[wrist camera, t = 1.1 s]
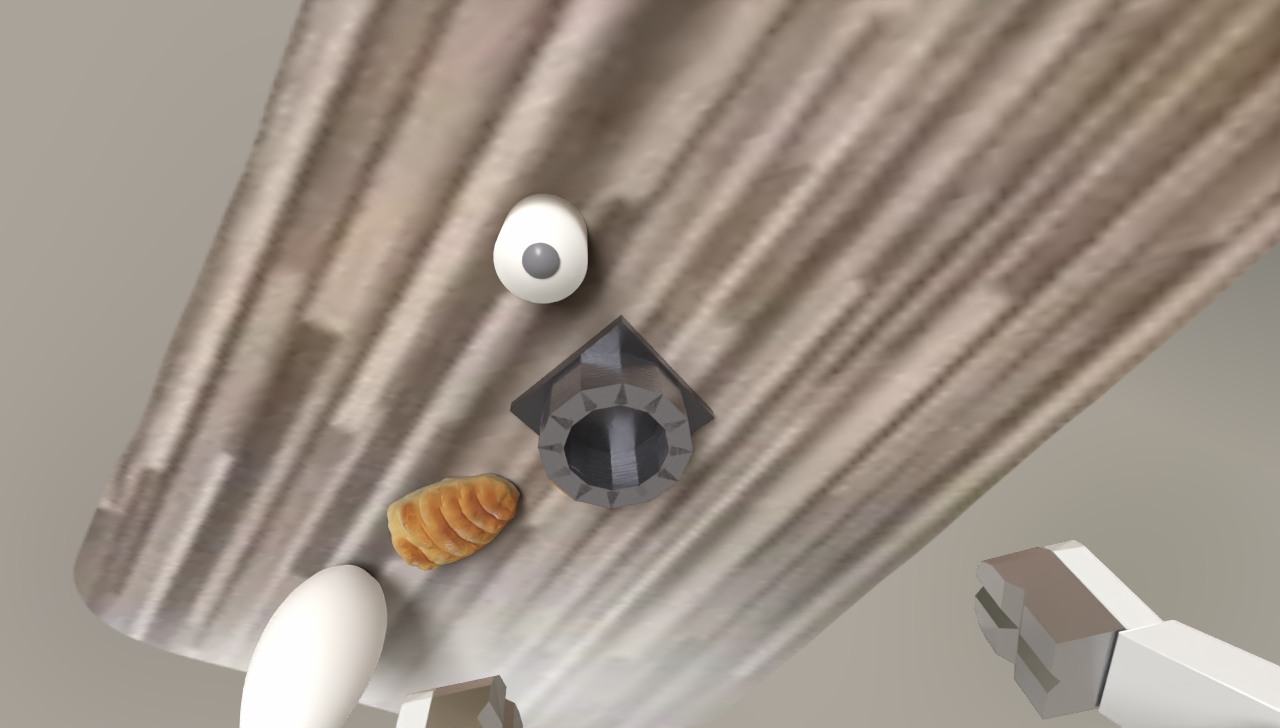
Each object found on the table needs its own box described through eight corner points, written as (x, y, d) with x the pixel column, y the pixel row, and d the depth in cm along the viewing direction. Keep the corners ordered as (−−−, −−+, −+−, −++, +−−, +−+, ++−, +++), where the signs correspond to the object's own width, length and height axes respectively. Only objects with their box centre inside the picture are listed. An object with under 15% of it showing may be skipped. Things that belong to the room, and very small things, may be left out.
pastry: (487, 446, 44) (480, 481, 40) (539, 506, 47) (536, 542, 44) (383, 500, 45) (368, 538, 42) (440, 554, 48) (430, 593, 45)
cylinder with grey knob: (546, 175, 35) (541, 194, 31) (604, 239, 37) (606, 265, 33) (485, 231, 36) (473, 257, 32) (544, 290, 38) (539, 321, 34)
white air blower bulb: (423, 581, 49) (348, 838, 34) (353, 620, 51) (250, 884, 35) (351, 524, 46) (230, 782, 30) (278, 569, 48) (127, 836, 32)
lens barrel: (621, 315, 39) (625, 351, 35) (711, 409, 43) (725, 452, 39) (511, 402, 42) (503, 446, 37) (606, 484, 46) (609, 532, 42)
